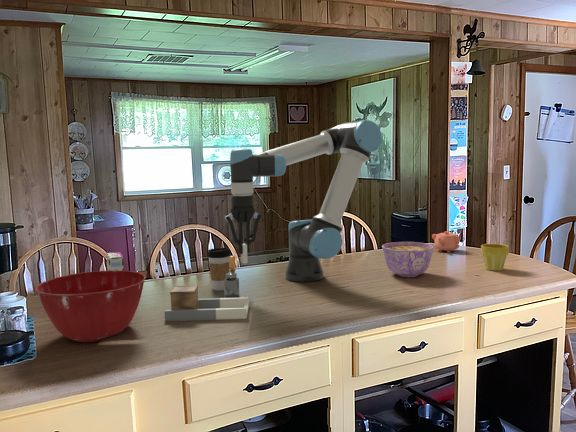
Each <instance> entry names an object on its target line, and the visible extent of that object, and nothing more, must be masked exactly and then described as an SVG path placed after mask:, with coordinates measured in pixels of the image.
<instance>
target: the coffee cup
mask: <svg viewBox="0 0 576 432" xmlns="http://www.w3.org/2000/svg"><path fill="white" fill-rule="evenodd" d="M229 256H231V250H230V247H218V248H217V247H216V248H210V249H208V250H207V258H208V267H209V272H210V273H209V275H210V279H211V287H212V290H213V291H224V279H226V273H230V265H229Z"/></svg>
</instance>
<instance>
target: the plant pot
mask: <svg viewBox="0 0 576 432" xmlns="http://www.w3.org/2000/svg"><path fill="white" fill-rule="evenodd" d="M509 247H510V246H508V244H501V243H484V244H481V245H480V253H481V254H482V258H483V263H484V267H485V268H484V269H486V270H487V271H492V272H493V271H495V272H496V271H497V272H499V271H503V270H504V267H505V264H506V259H507V256H508V255H509V251H510V250H509V249H510V248H509Z"/></svg>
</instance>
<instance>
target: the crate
mask: <svg viewBox="0 0 576 432" xmlns="http://www.w3.org/2000/svg"><path fill="white" fill-rule="evenodd" d="M169 296H170V305H171V306H170V307H171V308H170V310H183V309H199V303H198V299H199V284H196V285H195V284H194V285H193V284H189V285H188V284H187V285H174V287H173V288H172V289H171V291H170V292H169Z"/></svg>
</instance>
